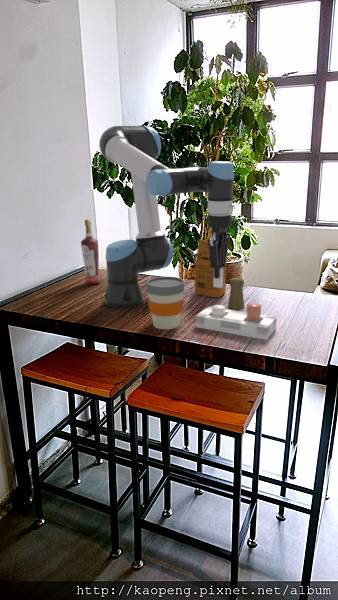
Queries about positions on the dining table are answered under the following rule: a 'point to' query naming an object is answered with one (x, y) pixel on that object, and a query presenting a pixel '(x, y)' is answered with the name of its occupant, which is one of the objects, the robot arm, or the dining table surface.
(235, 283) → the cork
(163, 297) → the reusable coffee cup
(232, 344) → the dining table surface
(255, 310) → the salmon rounded knob
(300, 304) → the dining table surface
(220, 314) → the white rounded piece
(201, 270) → the coffee package
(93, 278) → the liquor
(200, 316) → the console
